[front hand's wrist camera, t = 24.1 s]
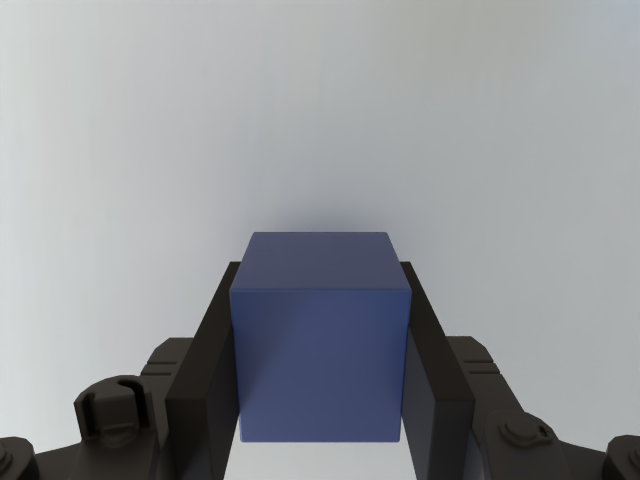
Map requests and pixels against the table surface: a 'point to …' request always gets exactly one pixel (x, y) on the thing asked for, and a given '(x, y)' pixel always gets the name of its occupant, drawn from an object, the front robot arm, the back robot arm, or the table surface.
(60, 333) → the table surface
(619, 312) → the table surface
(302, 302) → the block
